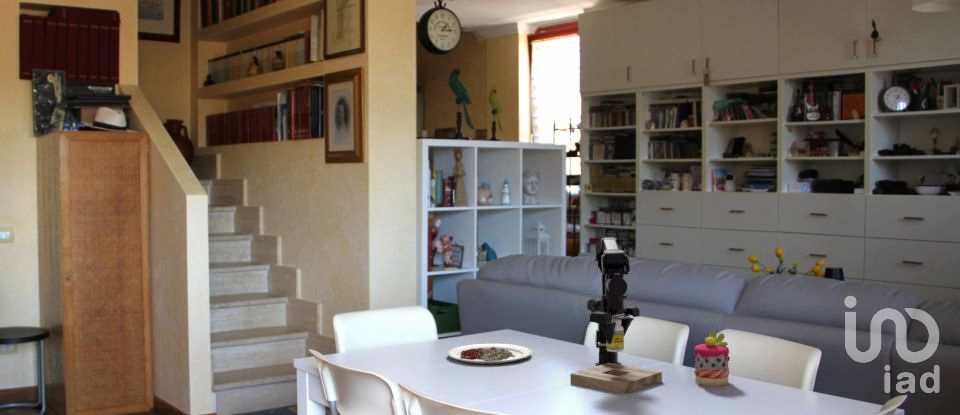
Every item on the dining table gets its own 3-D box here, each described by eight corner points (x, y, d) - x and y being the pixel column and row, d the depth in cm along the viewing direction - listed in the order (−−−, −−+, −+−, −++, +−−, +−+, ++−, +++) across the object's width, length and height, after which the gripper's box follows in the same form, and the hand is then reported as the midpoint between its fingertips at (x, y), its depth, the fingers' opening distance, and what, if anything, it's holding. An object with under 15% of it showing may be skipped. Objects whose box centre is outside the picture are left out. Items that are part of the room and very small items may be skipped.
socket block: (609, 371, 283) (608, 362, 283) (661, 381, 269) (661, 371, 269) (570, 383, 269) (570, 373, 269) (624, 393, 255) (624, 383, 255)
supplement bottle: (615, 347, 272) (615, 317, 272) (627, 350, 268) (627, 319, 268) (602, 350, 270) (602, 319, 269) (614, 353, 265) (614, 321, 265)
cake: (728, 387, 261) (728, 337, 260) (692, 385, 264) (691, 336, 264) (730, 379, 270) (730, 331, 270) (696, 377, 274) (695, 330, 273)
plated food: (549, 358, 306) (549, 349, 306) (478, 370, 289) (478, 360, 289) (499, 345, 330) (499, 336, 330) (431, 355, 314) (431, 346, 313)
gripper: (611, 286, 280) (611, 334, 281) (574, 293, 267) (575, 343, 268) (640, 289, 272) (640, 339, 273) (604, 296, 259) (604, 348, 260)
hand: (614, 342), depth 269 cm, fingers closed on supplement bottle, 5 cm apart
